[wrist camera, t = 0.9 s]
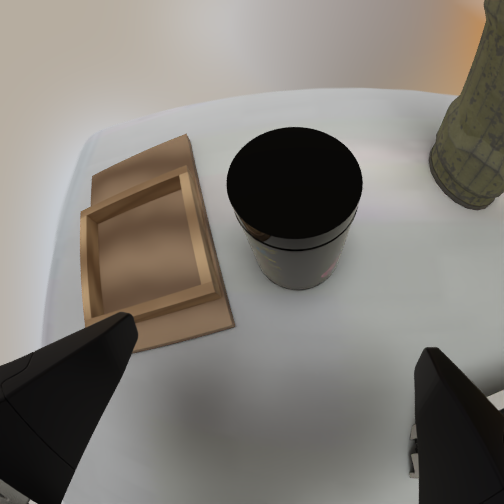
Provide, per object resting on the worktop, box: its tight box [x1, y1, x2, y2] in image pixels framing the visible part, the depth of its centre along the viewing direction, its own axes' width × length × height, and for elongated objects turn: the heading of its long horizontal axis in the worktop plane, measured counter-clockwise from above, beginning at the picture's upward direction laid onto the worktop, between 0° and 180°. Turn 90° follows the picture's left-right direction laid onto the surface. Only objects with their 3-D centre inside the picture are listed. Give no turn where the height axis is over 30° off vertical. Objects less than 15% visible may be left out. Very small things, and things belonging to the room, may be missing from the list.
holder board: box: [80, 134, 236, 353], centre depth 25 cm, size 20×12×3 cm, turn 16°
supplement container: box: [227, 127, 363, 289], centre depth 19 cm, size 7×7×10 cm
